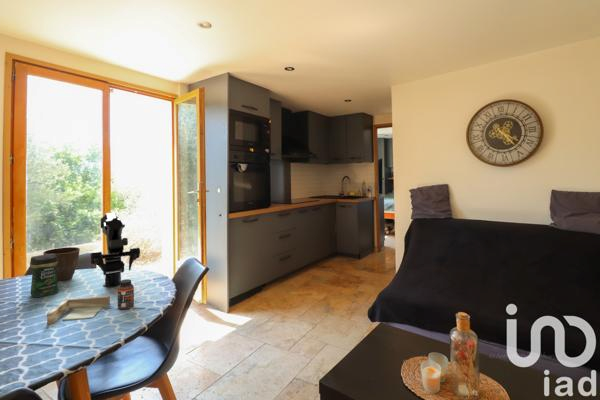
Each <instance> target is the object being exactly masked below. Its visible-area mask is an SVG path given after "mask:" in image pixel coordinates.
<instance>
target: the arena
mask: <svg viewBox="0 0 600 400" xmlns="http://www.w3.org/2000/svg"><path fill="white" fill-rule="evenodd" d="M110 305H111V295H102V296H101V295H100V296H98V295H97V296H90V297H89V296H87V297H76V298H75V297H74V298H65V299H64V300H62V302H60V303H59V304H58V305H56V306H55V307H53V308H52V309H51V310H50V311H49V312H47V313H46V325H52V324H54V323H55V322H56V321H58V319H60V318H61V317H62V316H63V315H65V313H67V312H68V311H70V310H72V311H71V312H70V313H69V314H68V315H66V316H65V317H64V318H63V319H62V321H63V322H64V321H75V320H85V319H93V318H95V316H96V315H97V314H98V313H99V312H100V311H101V310H102V309H103V307H104V308H105V307H110Z"/></svg>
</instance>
